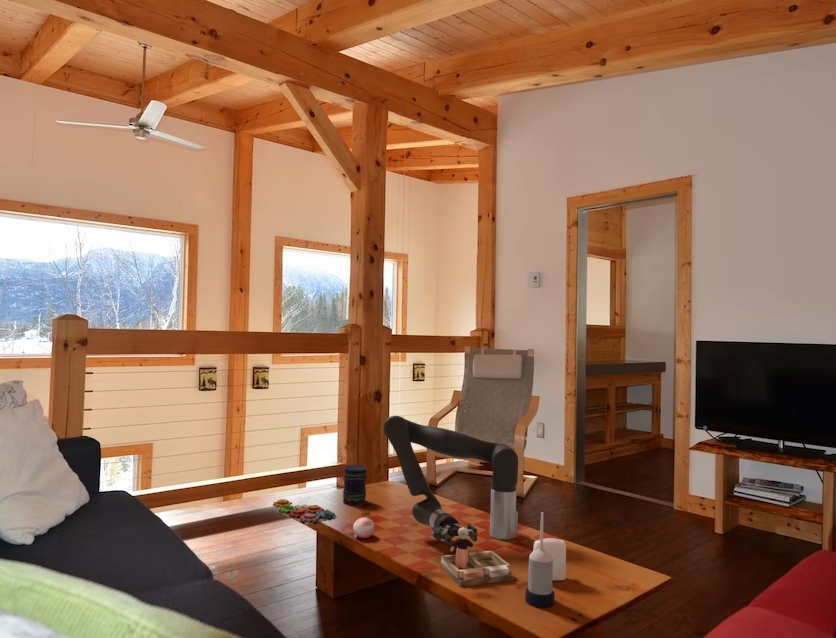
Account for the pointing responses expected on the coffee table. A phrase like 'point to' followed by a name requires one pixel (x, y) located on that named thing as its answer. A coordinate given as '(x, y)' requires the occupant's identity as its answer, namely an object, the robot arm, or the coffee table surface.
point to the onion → (363, 528)
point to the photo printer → (555, 556)
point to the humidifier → (540, 576)
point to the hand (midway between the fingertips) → (463, 539)
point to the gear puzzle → (303, 512)
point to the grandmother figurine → (462, 549)
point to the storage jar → (354, 485)
